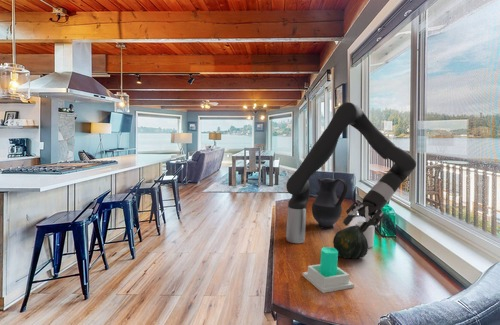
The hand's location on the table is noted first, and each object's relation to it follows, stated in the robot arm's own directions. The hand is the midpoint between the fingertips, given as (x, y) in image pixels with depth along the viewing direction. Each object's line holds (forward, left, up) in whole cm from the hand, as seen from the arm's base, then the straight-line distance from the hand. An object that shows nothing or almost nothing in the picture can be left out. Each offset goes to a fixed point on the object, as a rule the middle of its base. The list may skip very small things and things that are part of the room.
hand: (352, 227), depth 108 cm
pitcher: (-55, +30, -20) cm, 66 cm away
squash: (-17, +14, -20) cm, 30 cm away
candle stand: (0, -10, -19) cm, 22 cm away
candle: (0, -9, -18) cm, 21 cm away
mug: (-27, +31, -20) cm, 46 cm away
